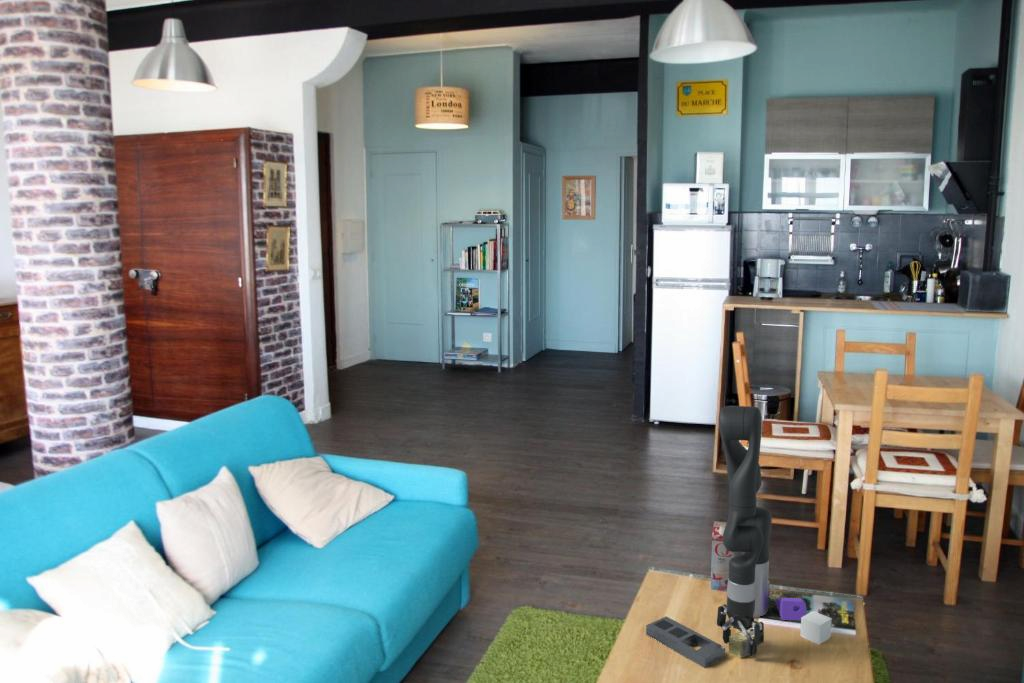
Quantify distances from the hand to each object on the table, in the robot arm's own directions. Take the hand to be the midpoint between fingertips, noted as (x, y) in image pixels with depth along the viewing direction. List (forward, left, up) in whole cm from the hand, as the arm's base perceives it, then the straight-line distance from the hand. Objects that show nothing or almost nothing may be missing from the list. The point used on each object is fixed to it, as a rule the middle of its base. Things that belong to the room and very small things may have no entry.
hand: (739, 648), depth 236 cm
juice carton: (-28, -29, -2) cm, 40 cm away
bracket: (-31, -5, -2) cm, 31 cm away
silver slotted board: (+9, -12, -1) cm, 15 cm away
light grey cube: (-24, +8, -2) cm, 25 cm away
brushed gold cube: (0, 0, -1) cm, 1 cm away
